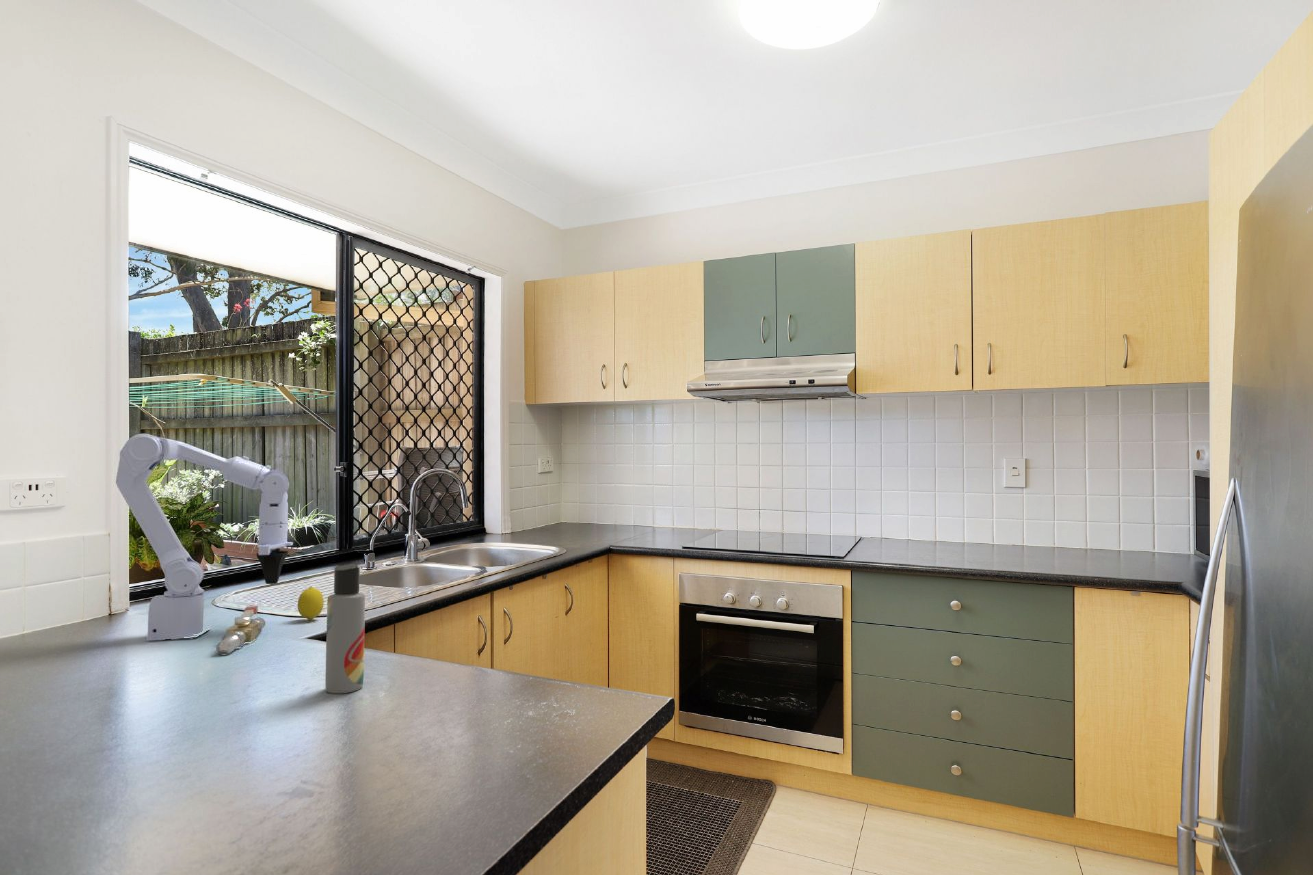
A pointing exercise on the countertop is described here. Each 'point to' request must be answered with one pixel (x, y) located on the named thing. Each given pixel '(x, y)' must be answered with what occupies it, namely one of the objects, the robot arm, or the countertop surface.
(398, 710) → the countertop surface
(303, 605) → the lemon
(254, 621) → the valve
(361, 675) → the lotion bottle
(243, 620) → the lever
